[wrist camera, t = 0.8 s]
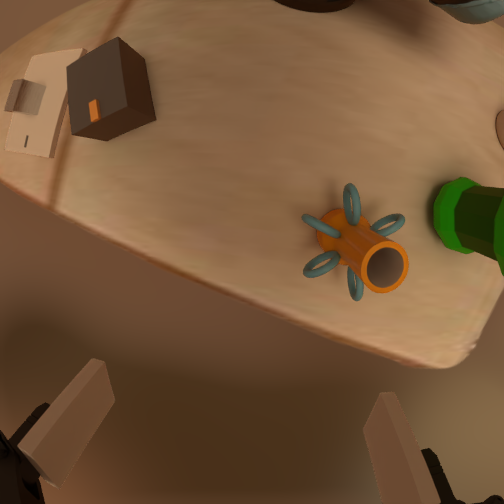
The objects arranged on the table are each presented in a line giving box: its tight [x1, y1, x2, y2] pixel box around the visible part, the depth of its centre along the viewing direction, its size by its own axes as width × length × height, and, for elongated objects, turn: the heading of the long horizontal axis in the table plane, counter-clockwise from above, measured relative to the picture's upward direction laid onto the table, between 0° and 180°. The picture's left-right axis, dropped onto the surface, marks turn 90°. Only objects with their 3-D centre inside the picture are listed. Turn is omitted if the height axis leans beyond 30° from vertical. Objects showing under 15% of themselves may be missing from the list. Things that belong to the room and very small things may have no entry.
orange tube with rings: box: [302, 183, 409, 301], centre depth 27 cm, size 12×10×15 cm
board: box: [4, 48, 87, 158], centre depth 28 cm, size 18×14×7 cm
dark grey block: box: [66, 37, 156, 141], centre depth 27 cm, size 10×8×9 cm
